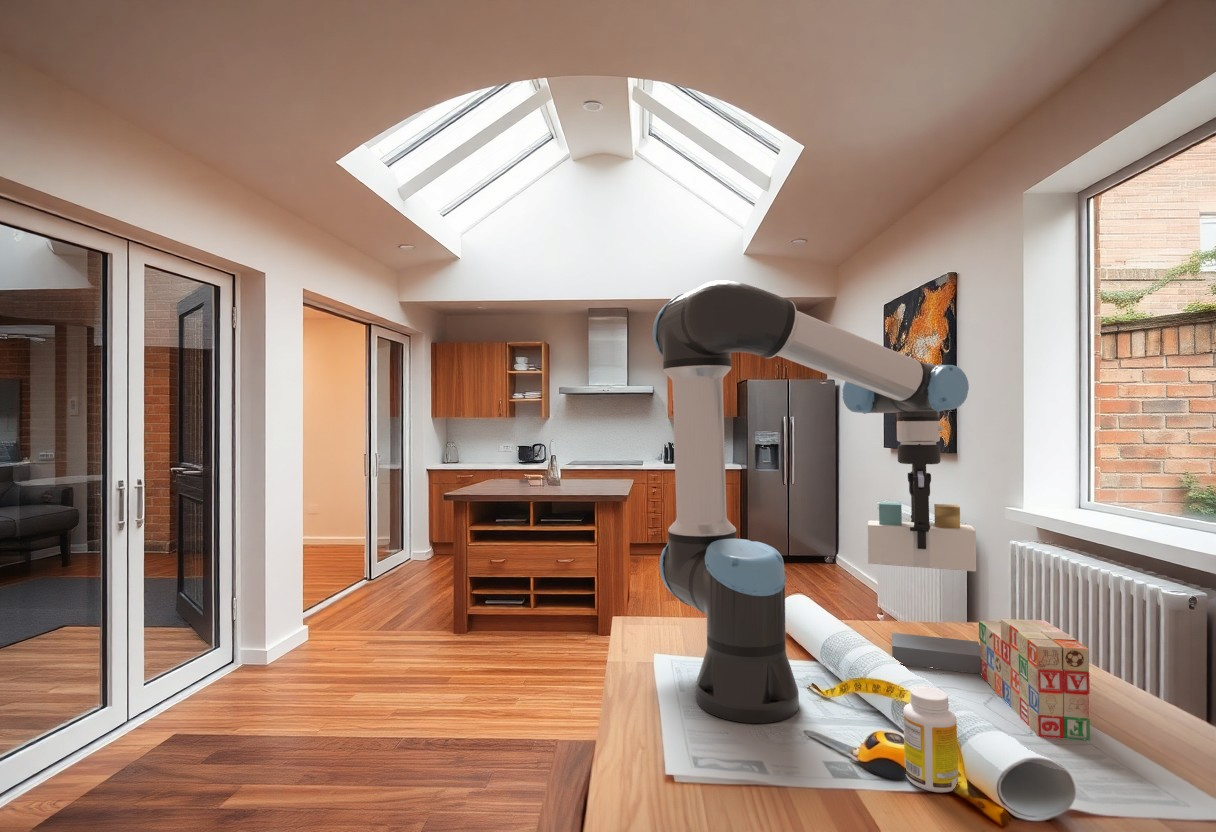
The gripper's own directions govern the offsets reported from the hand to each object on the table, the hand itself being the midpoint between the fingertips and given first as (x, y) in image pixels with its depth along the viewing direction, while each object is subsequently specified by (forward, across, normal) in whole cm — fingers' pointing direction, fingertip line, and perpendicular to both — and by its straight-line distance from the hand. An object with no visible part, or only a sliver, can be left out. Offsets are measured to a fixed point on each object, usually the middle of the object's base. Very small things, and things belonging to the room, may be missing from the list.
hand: (920, 561), depth 125 cm
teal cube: (-7, 0, +5) cm, 9 cm away
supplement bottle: (+15, -55, +2) cm, 57 cm away
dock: (+15, -12, -2) cm, 19 cm away
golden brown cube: (-7, 0, -5) cm, 8 cm away
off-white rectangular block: (0, 0, 0) cm, 0 cm away
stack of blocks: (+15, -27, -13) cm, 33 cm away
